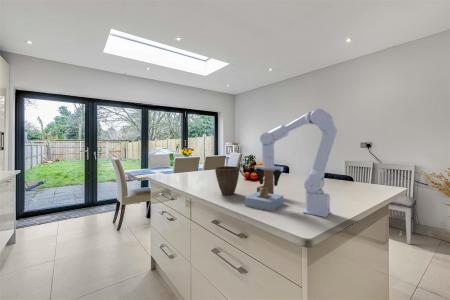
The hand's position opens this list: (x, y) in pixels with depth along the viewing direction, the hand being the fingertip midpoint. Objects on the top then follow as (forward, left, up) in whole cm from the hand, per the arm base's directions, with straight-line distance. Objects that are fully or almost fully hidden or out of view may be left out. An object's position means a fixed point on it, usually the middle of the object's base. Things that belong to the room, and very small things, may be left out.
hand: (268, 184), depth 101 cm
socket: (+2, +1, -10) cm, 10 cm away
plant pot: (+30, -6, -10) cm, 32 cm away
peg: (+2, +2, -10) cm, 10 cm away
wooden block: (+10, -16, -10) cm, 21 cm away
